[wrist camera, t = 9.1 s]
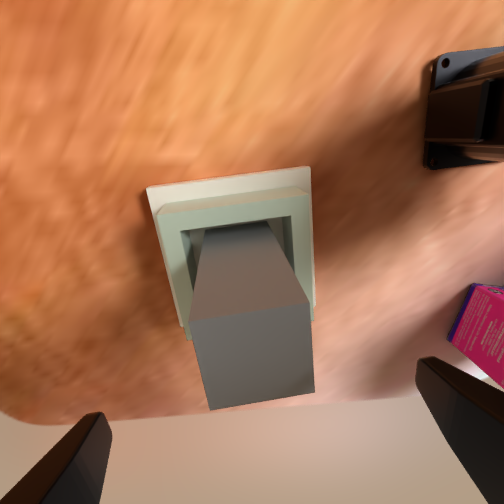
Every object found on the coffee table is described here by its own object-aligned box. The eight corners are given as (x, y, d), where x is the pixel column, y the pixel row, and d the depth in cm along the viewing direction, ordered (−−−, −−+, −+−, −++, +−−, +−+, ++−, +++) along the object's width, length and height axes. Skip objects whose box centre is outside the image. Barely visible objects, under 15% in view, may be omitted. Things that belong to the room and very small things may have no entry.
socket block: (306, 165, 19) (326, 172, 15) (311, 299, 23) (329, 331, 19) (149, 185, 18) (131, 198, 15) (182, 318, 22) (174, 355, 18)
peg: (266, 220, 19) (309, 302, 10) (272, 275, 20) (314, 392, 11) (205, 229, 19) (188, 321, 9) (215, 284, 20) (210, 410, 11)
